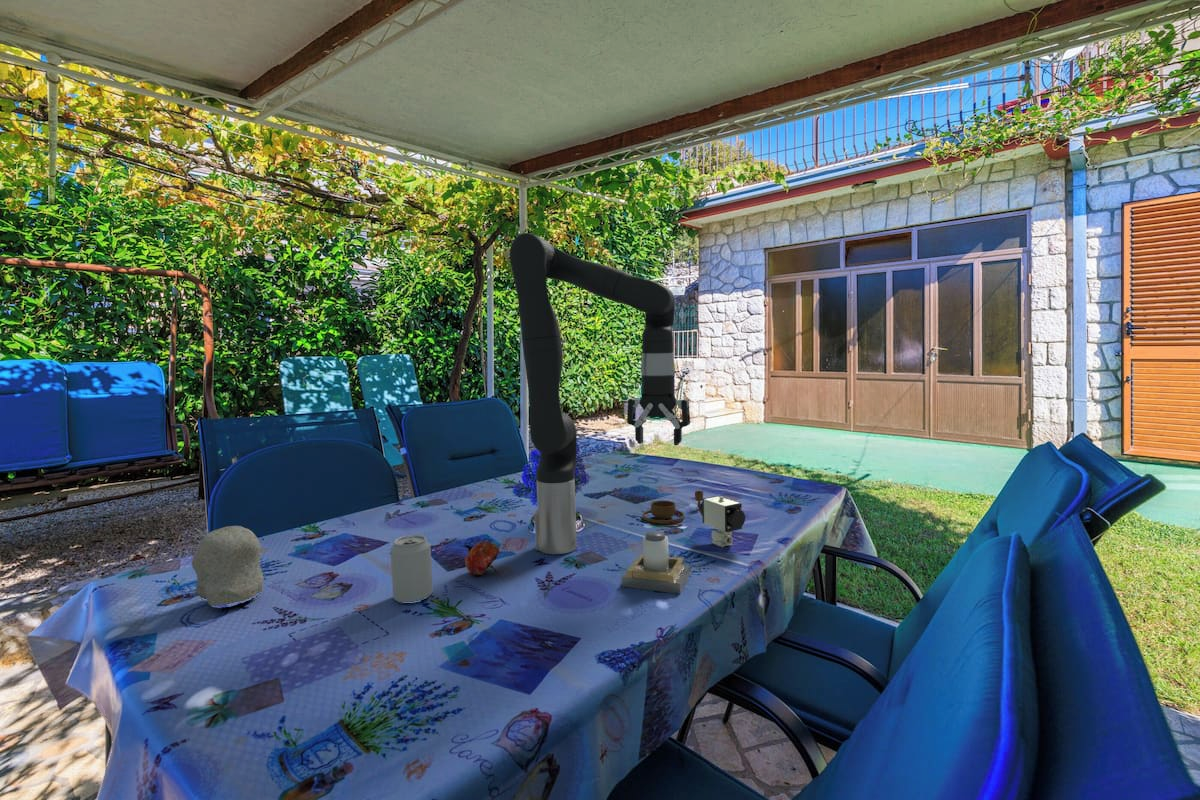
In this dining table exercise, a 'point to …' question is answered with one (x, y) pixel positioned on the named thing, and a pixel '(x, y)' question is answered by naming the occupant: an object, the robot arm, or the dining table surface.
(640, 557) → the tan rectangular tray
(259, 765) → the dining table surface
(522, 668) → the dining table surface
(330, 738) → the dining table surface
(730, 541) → the pneumatic valve
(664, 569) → the white plastic jar
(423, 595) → the can
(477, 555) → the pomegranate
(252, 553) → the stone
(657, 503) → the place setting
